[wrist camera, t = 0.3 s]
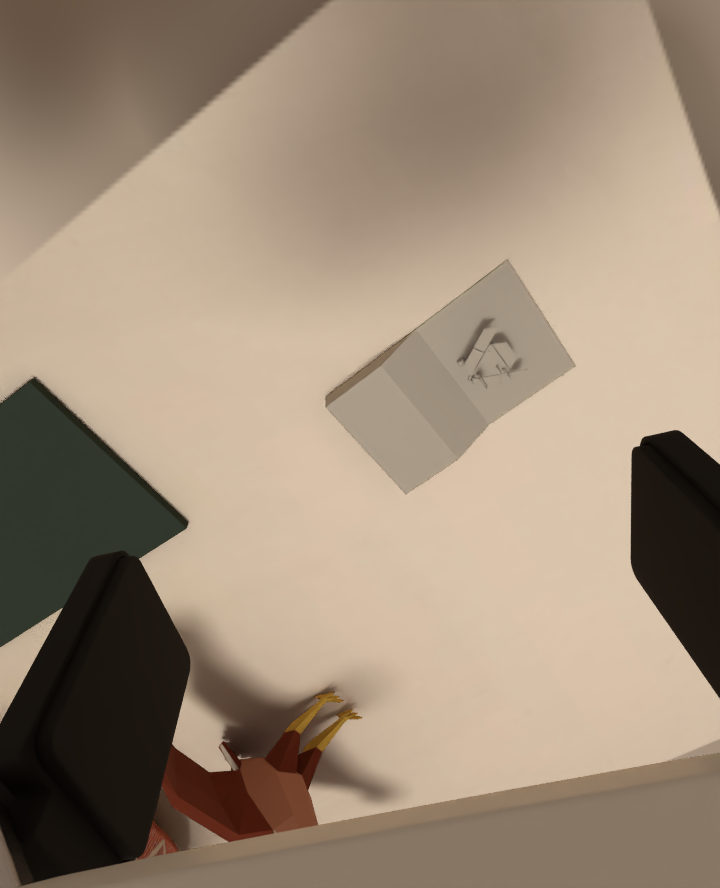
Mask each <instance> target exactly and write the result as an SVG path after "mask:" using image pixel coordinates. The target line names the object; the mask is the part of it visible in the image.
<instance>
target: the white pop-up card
mask: <svg viewBox="0 0 720 888" xmlns="http://www.w3.org/2000/svg"><path fill="white" fill-rule="evenodd" d="M573 367H575V364H574V363H573V361H572V359H571V358H570V356H569V355H568V353H567V352H566V350H565V348H564V347H563V345H562V344H561V342H560V341H559V339H558V337H557V336H556V334H555V333H554V331H553V330H552V328H551V327H550V325H549V323H548V322H547V320H546V319H545V317H544V316H543V314H542V312H541V311H540V309H539V308H538V306H537V305H536V303H535V301H534V300H533V298H532V297H531V295H530V294H529V292H528V291H527V289H526V287H525V286H524V284H523V283H522V281H521V280H520V278H519V276H518V275H517V273H516V272H515V270H514V269H513V267H512V265H511V264H510V262H509V261H508V260H507V261H506V262H504V263H503V264H502V265H500V266H499V267H498V268H496V269H495V270H494V271H492V272H491V273H490V274H488V275H487V276H486V277H484V278H483V279H482V280H480V281H479V282H478V283H476V284H475V285H474V286H472V287H471V288H470V289H468V290H467V291H466V292H465V293H463V294H462V295H461V296H459V297H458V298H457V299H455V300H454V301H453V302H451V303H450V304H449V305H447V306H446V307H445V308H443V309H442V310H441V311H439V312H438V313H437V314H435V315H434V316H433V317H431V318H430V319H429V320H428V321H426V322H425V323H424V324H422V325H421V326H420V327H418V328H417V329H415V330H414V331H413V332H411V333H410V334H409V335H407V336H406V337H405V338H403V339H402V340H401V341H399V342H398V343H397V344H395V345H394V346H393V347H392V348H390V349H389V350H388V351H386V352H385V353H384V354H382V355H381V356H380V357H378V358H377V359H376V360H374V361H373V362H372V363H370V364H369V365H368V366H366V367H365V368H364V369H362V370H361V371H360V372H358V373H357V374H356V375H354V376H353V377H352V378H351V379H349V380H348V381H347V382H345V383H344V384H343V385H341V386H340V387H339V388H337V389H336V390H335V391H333V392H332V393H331V394H329V395H328V396H327V397H326V408H327V409H328V411H329V412H330V413H331V414H332V415H333V416H334V417H335V418H336V419H337V420H338V421H339V423H340V424H341V425H342V426H343V427H344V428H345V429H346V430H347V431H348V432H349V433H350V434H351V436H352V437H353V438H354V439H355V440H356V441H357V442H358V443H359V444H360V445H361V446H362V447H363V449H364V450H365V451H366V452H367V453H368V454H369V455H370V456H371V457H372V458H373V459H374V461H375V462H376V463H377V464H378V465H379V466H380V467H381V468H382V469H383V470H384V471H385V472H386V474H387V475H388V476H389V477H390V478H391V479H392V480H393V481H394V482H395V483H396V484H397V485H398V487H399V488H400V489H401V490H402V491H403V492H404V493H405V494H407V493H409V492H410V491H412V490H413V489H415V488H416V487H418V486H419V485H421V484H422V483H424V482H425V481H427V480H428V479H430V478H431V477H433V476H434V475H436V474H437V473H439V472H440V471H442V470H443V469H445V468H446V467H448V466H449V465H451V464H452V463H454V462H455V461H457V460H458V459H459V458H460V457H461V456H462V455H463V454H464V453H465V451H466V450H467V449H468V448H469V447H470V446H471V445H472V443H473V442H474V441H475V440H476V439H477V438H478V437H479V436H480V434H481V433H482V432H483V431H484V430H485V429H486V428H487V426H488V425H489V424H491V423H492V422H493V421H495V420H496V419H498V418H499V417H501V416H502V415H504V414H505V413H507V412H508V411H510V410H511V409H513V408H514V407H516V406H517V405H519V404H520V403H522V402H523V401H525V400H526V399H528V398H529V397H531V396H532V395H533V394H535V393H536V392H538V391H539V390H541V389H542V388H544V387H545V386H547V385H548V384H550V383H551V382H553V381H554V380H556V379H557V378H559V377H560V376H562V375H563V374H565V373H566V372H568V371H569V370H571V369H572V368H573Z"/></svg>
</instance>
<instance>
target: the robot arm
mask: <svg viewBox="0 0 720 888" xmlns="http://www.w3.org/2000/svg"><path fill="white" fill-rule="evenodd" d="M631 565H632V569H633V572H634V574H635V576H636V578H637V580H638V581H639V583H640V584H641V586H642V587H643V589H644V590H645V592H646V593H647V594H648V596H649V597H650V599H651V600H652V602H653V603H654V605H655V606H656V607H657V609H658V610H659V612H660V613H661V615H662V616H663V617H664V619H665V620H666V622H667V623H668V625H669V626H670V628H671V629H672V630H673V632H674V633H675V635H676V636H677V638H678V639H679V640H680V642H681V643H682V645H683V646H684V648H685V649H686V651H687V652H688V653H689V655H690V656H691V658H692V659H693V661H694V662H695V663H696V665H697V666H698V668H699V669H700V671H701V672H702V674H703V675H704V676H705V678H706V679H707V681H708V682H709V684H710V685H711V686H712V688H713V689H714V691H715V692H716V694H717V695H718V697H719V698H720V464H719V463H717V462H716V461H715V460H714V459H713V458H711V457H710V456H709V455H708V454H707V453H706V452H704V451H703V450H702V449H701V448H700V447H698V446H697V445H696V444H695V443H694V442H693V441H691V440H690V439H689V438H688V437H687V436H686V435H684V434H683V433H682V432H680V431H678V430H674V431H669V432H665V433H660V434H655V435H651V436H646V437H644V438H643V439H642V440H641V443H640V446H638V447H635V448H633V450H632V474H631ZM189 672H190V656H189V652H188V650H187V648H186V646H185V644H184V642H183V640H182V639H181V637H180V635H179V633H178V631H177V629H176V627H175V625H174V623H173V622H172V620H171V618H170V616H169V614H168V612H167V610H166V608H165V607H164V605H163V603H162V601H161V599H160V597H159V595H158V593H157V591H156V590H155V588H154V586H153V584H152V582H151V580H150V578H149V576H148V574H147V573H146V571H145V569H144V567H143V565H142V563H141V561H140V560H139V558H138V557H136V556H130V555H129V554H128V553H127V552H126V551H122V550H121V551H117V552H112V553H107V554H103V555H98V556H94V557H92V558H91V559H90V560H89V561H88V563H87V565H86V567H85V568H84V570H83V572H82V574H81V576H80V578H79V580H78V581H77V583H76V585H75V587H74V589H73V591H72V592H71V594H70V596H69V598H68V600H67V602H66V603H65V605H64V607H63V609H62V611H61V613H60V614H59V616H58V618H57V620H56V622H55V624H54V626H53V627H52V629H51V631H50V633H49V635H48V637H47V638H46V640H45V642H44V644H43V646H42V648H41V649H40V651H39V653H38V655H37V657H36V659H35V660H34V662H33V664H32V666H31V668H30V670H29V672H28V673H27V675H26V677H25V679H24V681H23V683H22V684H21V686H20V688H19V690H18V692H17V694H16V695H15V697H14V699H13V701H12V703H11V705H10V706H9V708H8V710H7V712H6V714H5V716H4V718H3V719H2V721H1V723H0V888H720V753H716V754H710V755H703V756H697V757H691V758H685V759H679V760H673V761H667V762H662V763H656V764H651V765H645V766H640V767H634V768H628V769H623V770H617V771H612V772H606V773H600V774H595V775H589V776H584V777H578V778H573V779H567V780H561V781H556V782H550V783H545V784H539V785H533V786H528V787H522V788H517V789H511V790H506V791H500V792H495V793H489V794H484V795H478V796H473V797H468V798H462V799H457V800H451V801H446V802H440V803H435V804H430V805H424V806H419V807H413V808H408V809H402V810H397V811H392V812H386V813H381V814H375V815H370V816H365V817H359V818H354V819H349V820H343V821H338V822H332V823H327V824H322V825H316V826H311V827H306V828H300V829H295V830H290V831H285V832H279V833H274V834H269V835H264V836H258V837H253V838H248V839H243V840H238V841H232V842H227V843H222V844H217V845H211V846H206V847H201V848H196V849H190V850H185V851H180V852H175V853H169V854H164V855H159V856H154V857H149V858H144V859H140V860H136V858H139V857H141V856H142V855H143V853H144V851H145V849H146V846H147V843H148V839H149V835H150V831H151V827H152V822H153V818H154V814H155V810H156V806H157V802H158V798H159V794H160V790H161V786H162V782H163V778H164V774H165V770H166V766H167V762H168V758H169V754H170V749H171V745H172V741H173V737H174V733H175V729H176V725H177V721H178V717H179V713H180V709H181V705H182V701H183V697H184V693H185V689H186V685H187V680H188V676H189Z"/></svg>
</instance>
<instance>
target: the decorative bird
mask: <svg viewBox="0 0 720 888" xmlns="http://www.w3.org/2000/svg"><path fill="white" fill-rule="evenodd" d="M333 693H334V692H330V693H326V694H322V695H318V696H315V697H317V698H318V699H320V700H319V701H318V702H317V703H316V704H315V705H314V706H312V707H311V708H310V709H309V710H307V711H306V712H305V713H304V714H302V715H301V716H300V717H299V718H297V719H296V720H295V721H293V722H292V723H291V724H290V726H289V727H288V728H287V729H286V730H285V732H284V733H283V735H282V737H281V738H280V740H279V741H278V742H277V743H276V745H275V746H274V747H273V749H272V750H271V751H270V752H269V754H268V755H267V756H266V757H265V758H261V757H257V758H249V759H240V760H239V759H238V758H237V757H236V755H235V754H234V753H233V752H232V750H231V749H230V748H229V747H228V745H227V744H226V743H225V742H224V741H223V742H222V743H221V744H220V745H219V749H220V750H221V752H222V753H223V755H224V757H225V760H226V761H228V763H229V764H230V766H231V771H222V772H208V771H207V770H205V769H204V768H203V767H201V766H200V765H198V764H197V763H195V762H194V761H193V760H191V759H190V758H188V757H187V756H186V755H184V754H183V753H181V752H180V751H179V750H177V749H176V748H175V747H174V746H173V745H171V749H170V754H169V758H168V762H167V766H166V770H165V774H164V778H163V782H162V788H163V790H164V792H165V794H166V796H167V798H168V800H169V802H170V804H171V806H172V807H173V808H175V809H176V810H178V811H179V812H181V813H183V814H184V815H186V816H188V817H189V818H191V819H192V820H194V821H196V822H197V823H199V824H201V825H202V826H204V827H205V828H207V829H209V830H210V831H212V832H214V833H215V834H217V835H218V836H220V837H222V838H223V839H225V840H227V841H228V842H232V841H238V840H243V839H248V838H253V837H258V836H264V835H269V834H274V833H279V832H285V831H290V830H295V829H300V828H306V827H311V826H316V825H318V823H317V819H316V815H315V811H314V808H313V804H312V800H311V797H310V795H309V792H308V789H309V786H310V784H311V781H312V778H313V776H314V773H315V770H316V767H317V765H318V762H319V759H320V757H321V754H322V752H323V750H324V749H325V748H326V746H327V745H328V744H329V742H330V741H331V739H332V738H333V737H334V735H335V734H336V733H337V731H338V730H339V729H340V727H341V726H342V725H343V723H344V722H345V721H346V720H347V719H360V718H362V717H360V716H355V715H356V714H358V713H355V712H353V713H351V712H352V711H353V710H354V709H350V710H347V711H344V712H342V713H340V714H339V715H337V716H338V717H339V719H338V720H337V721H336V722H335V723H333V724H332V725H331V726H329V727H328V728H327V729H325V730H324V731H323V732H322V733H320V734H319V735H318V736H316V737H315V738H314V739H312V740H311V741H310V742H309V743H308V744H307V745H306V746H305V747H304V750H303V752H302V753H301V754H299V755H298V753H299V744H300V736H301V733H302V732H303V730H304V729H305V728H306V727H307V725H308V724H309V723H310V721H311V720H312V719H313V717H314V716H315V715H316V714H317V712H318V711H319V710H320V708H321V707H322V706H323V705H324V704H325V703H326V702H338V703H340V702H342V701H344V700H341V699H337V698H339V696H334V695H332V694H333Z"/></svg>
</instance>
